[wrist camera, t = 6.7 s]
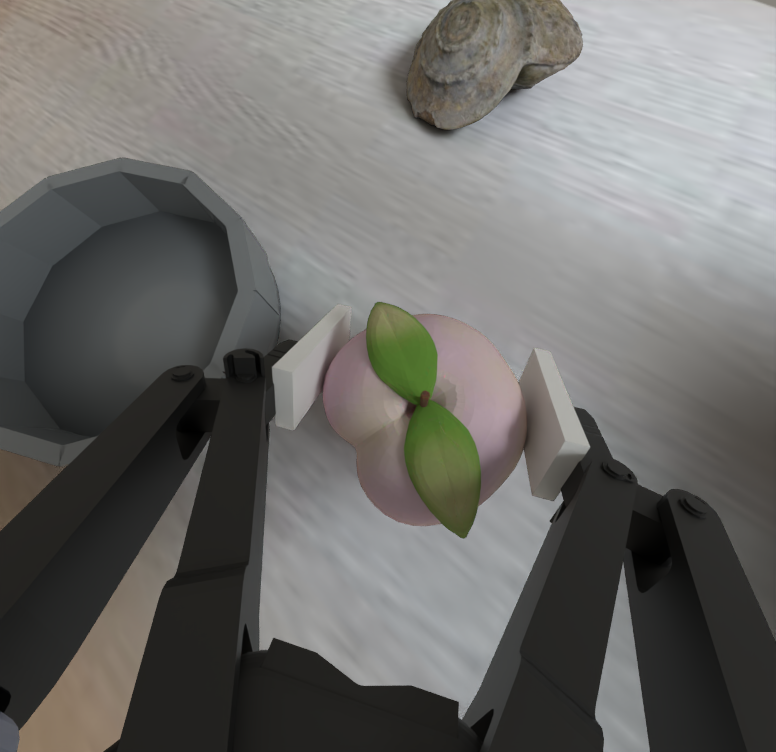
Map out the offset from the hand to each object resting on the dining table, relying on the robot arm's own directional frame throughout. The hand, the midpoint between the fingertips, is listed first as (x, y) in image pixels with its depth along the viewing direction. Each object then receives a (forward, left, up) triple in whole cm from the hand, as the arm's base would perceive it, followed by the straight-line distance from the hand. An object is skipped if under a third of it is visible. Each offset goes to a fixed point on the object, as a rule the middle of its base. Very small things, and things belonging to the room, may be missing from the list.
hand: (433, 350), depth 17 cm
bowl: (+11, -16, -5) cm, 20 cm away
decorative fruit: (+3, +2, -4) cm, 5 cm away
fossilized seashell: (-20, -12, -5) cm, 24 cm away
